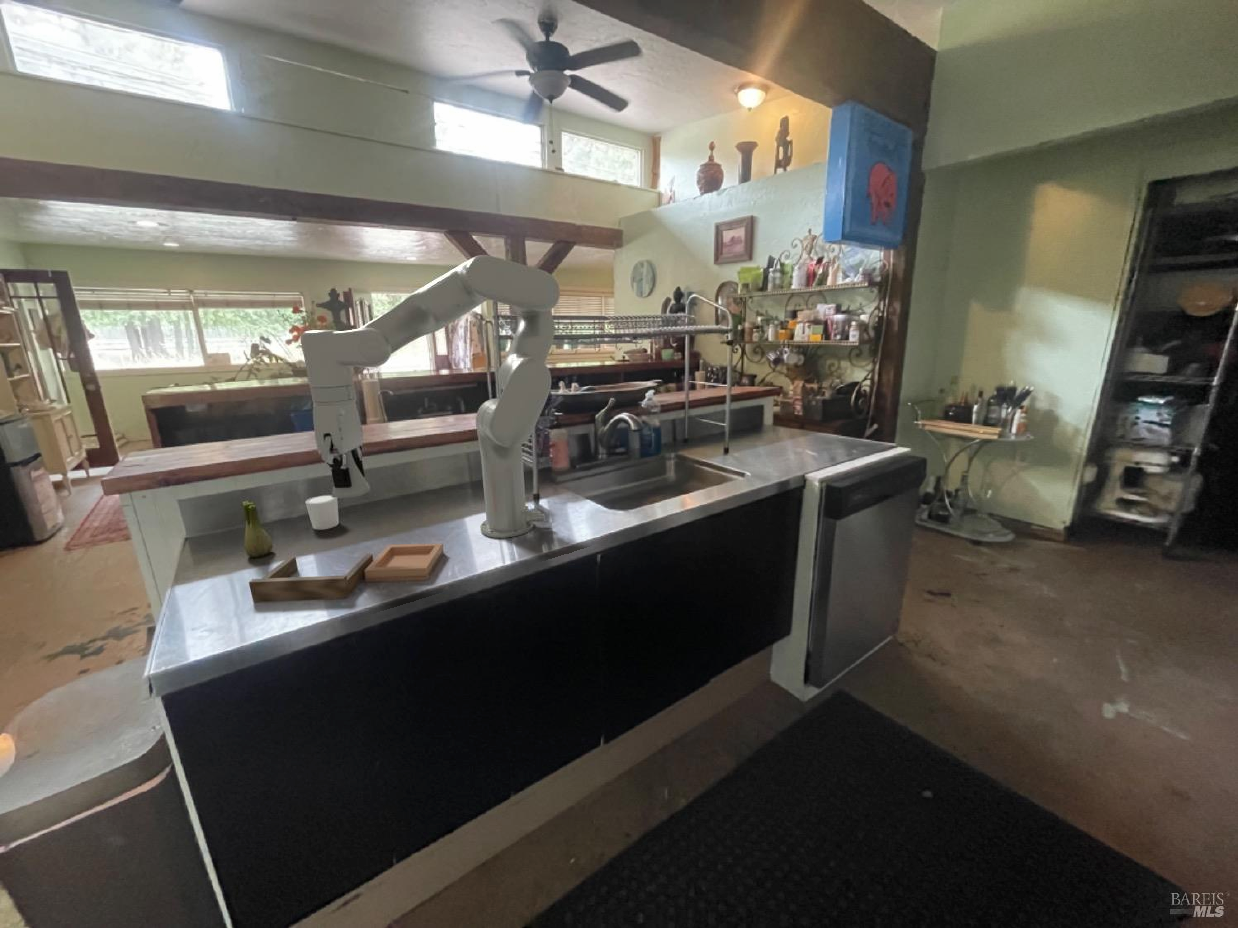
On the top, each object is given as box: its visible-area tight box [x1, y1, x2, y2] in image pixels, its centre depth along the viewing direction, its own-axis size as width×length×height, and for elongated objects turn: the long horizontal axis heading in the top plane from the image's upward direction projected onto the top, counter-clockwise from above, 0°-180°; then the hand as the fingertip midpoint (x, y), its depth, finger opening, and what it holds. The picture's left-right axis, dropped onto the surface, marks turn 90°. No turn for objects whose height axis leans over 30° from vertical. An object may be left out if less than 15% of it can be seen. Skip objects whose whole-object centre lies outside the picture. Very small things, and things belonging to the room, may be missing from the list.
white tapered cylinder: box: [305, 494, 340, 531], centre depth 123 cm, size 7×7×7 cm
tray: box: [364, 542, 445, 583], centre depth 102 cm, size 12×12×2 cm
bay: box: [248, 553, 374, 603], centre depth 95 cm, size 16×12×4 cm
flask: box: [331, 450, 371, 499], centre depth 102 cm, size 7×7×10 cm
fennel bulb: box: [241, 501, 274, 558], centre depth 107 cm, size 6×5×12 cm
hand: (350, 482), depth 102 cm, fingers closed on flask, 5 cm apart
